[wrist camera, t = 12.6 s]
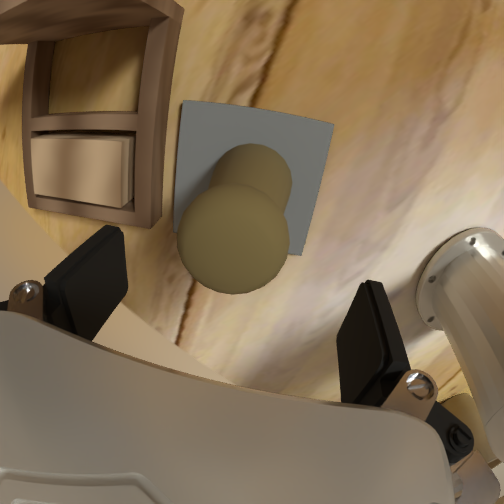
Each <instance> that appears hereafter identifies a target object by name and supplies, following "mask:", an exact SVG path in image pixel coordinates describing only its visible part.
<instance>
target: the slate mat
mask: <svg viewBox="0 0 504 504" xmlns="http://www.w3.org/2000/svg"><path fill="white" fill-rule="evenodd" d="M333 128H334V124H331V123H327V122H323V121H319V120H315V119H310V118H306V117H301V116H296V115H291V114H286V113H281V112H276V111H270V110H264V109H258V108H252V107H245V106H237V105H230V104H221V103H212V102H202V101H190V100H183V106H182V114H181V123H180V133H179V143H178V154H177V167H176V181H175V198H174V220H173V232H175V233H177V230H178V226H179V223H180V220H181V217H182V215H183V212H184V211H185V209H186V208H187V207H188V206H189V205H190V204H191V202H192V201H193V200H194V199H195V198H196V197H197V196H198V195H199V194H201V193H203V192H204V191H206V190H208V187H209V183H210V180H211V177H212V174H213V171H214V169H215V167H216V164H217V162H218V160H219V159H220V158H221V157H222V156H223V155H224V154H225V153H226V152H227V151H228V150H230V149H232V148H234V147H236V146H238V145H243V144H249V143H253V144H260V145H265V146H267V147H269V148H271V149H273V150H275V151H276V152H277V153H278V154H279V155H280V156H282V157H283V158H284V159H285V161H286V163H287V165H288V167H289V169H290V170H291V176H292V188H291V194H290V197H289V200H288V203H287V206H286V209H285V212H284V217H285V219H286V220H287V225H288V231H289V238H290V245H289V250H288V253H289V254H294V255H299V256H301V255H302V252H303V248H304V244H305V241H306V237H307V234H308V230H309V226H310V222H311V219H312V215H313V211H314V207H315V203H316V200H317V196H318V192H319V188H320V184H321V180H322V176H323V171H324V167H325V163H326V159H327V155H328V150H329V146H330V142H331V137H332V133H333Z"/></svg>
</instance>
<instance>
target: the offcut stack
mask: <svg viewBox="0 0 504 504" xmlns="http://www.w3.org/2000/svg"><path fill="white" fill-rule="evenodd" d="M135 149H136V134H129V133H112V132H85V131H53V132H50V133H47V134H44V135H41V136H38V137H35V138H32V139H31V159H32V174H33V185H34V194H39V195H45V196H51V197H58V198H64V199H70V200H76V201H82V202H88V203H94V204H100V205H106V206H112V207H118V208H122V207H123V206H124V205H125V204H126V203H128V202H129V201H130V200H131V199H133V198H134V197H135Z"/></svg>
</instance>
